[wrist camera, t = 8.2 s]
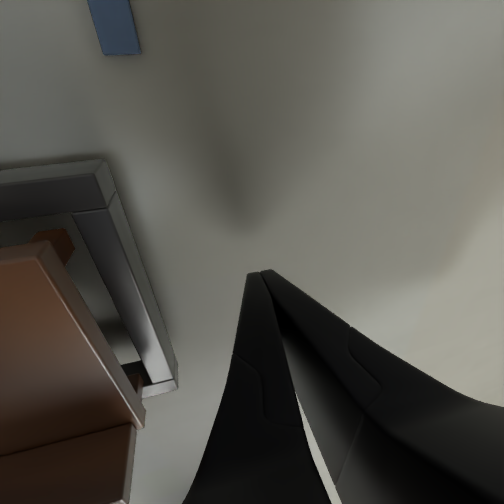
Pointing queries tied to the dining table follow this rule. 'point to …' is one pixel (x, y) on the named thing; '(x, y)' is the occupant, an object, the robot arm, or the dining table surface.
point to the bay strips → (114, 26)
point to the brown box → (72, 344)
